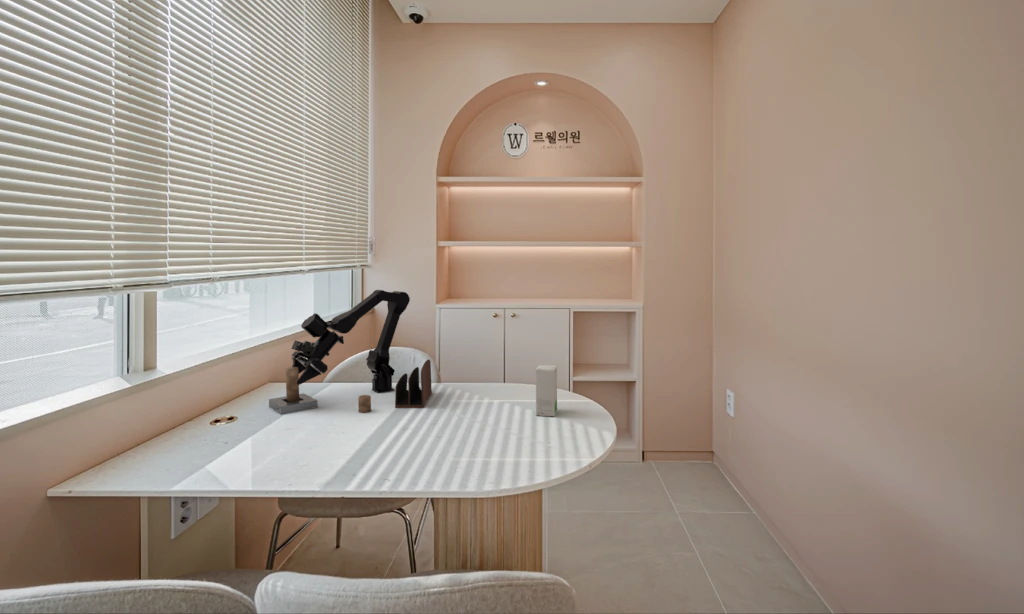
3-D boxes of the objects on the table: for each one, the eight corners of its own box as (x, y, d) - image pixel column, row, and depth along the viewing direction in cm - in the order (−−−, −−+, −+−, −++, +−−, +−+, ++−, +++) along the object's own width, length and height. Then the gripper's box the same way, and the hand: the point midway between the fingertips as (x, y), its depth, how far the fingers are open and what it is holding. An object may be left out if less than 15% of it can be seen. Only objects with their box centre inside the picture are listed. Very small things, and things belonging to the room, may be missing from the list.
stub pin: (368, 408, 178) (367, 394, 177) (372, 411, 175) (372, 396, 174) (356, 410, 175) (356, 396, 175) (361, 413, 172) (360, 398, 172)
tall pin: (300, 404, 182) (298, 366, 180) (299, 408, 178) (297, 369, 177) (287, 405, 181) (286, 367, 179) (286, 409, 177) (284, 369, 175)
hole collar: (304, 400, 188) (303, 393, 187) (317, 407, 179) (317, 400, 179) (269, 406, 180) (268, 399, 179) (281, 414, 171) (280, 406, 171)
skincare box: (554, 417, 170) (555, 370, 168) (534, 416, 171) (534, 369, 169) (557, 410, 178) (558, 364, 176) (538, 408, 179) (538, 364, 177)
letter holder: (431, 393, 199) (431, 356, 197) (424, 408, 179) (423, 368, 178) (405, 393, 199) (405, 356, 197) (394, 408, 179) (394, 368, 177)
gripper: (296, 328, 187) (265, 363, 181) (317, 334, 174) (284, 372, 167) (318, 347, 193) (289, 381, 187) (340, 354, 180) (309, 392, 173)
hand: (292, 381), depth 178 cm, fingers open, 9 cm apart
